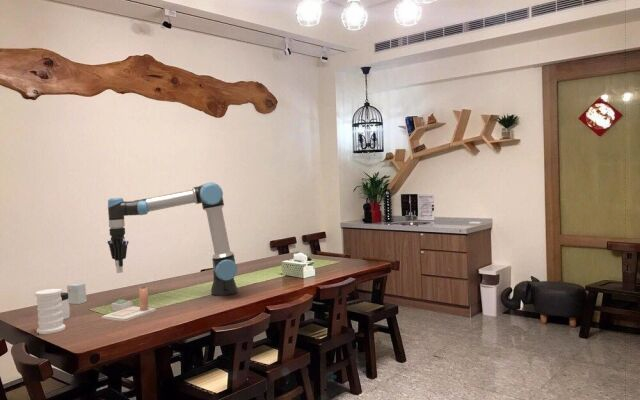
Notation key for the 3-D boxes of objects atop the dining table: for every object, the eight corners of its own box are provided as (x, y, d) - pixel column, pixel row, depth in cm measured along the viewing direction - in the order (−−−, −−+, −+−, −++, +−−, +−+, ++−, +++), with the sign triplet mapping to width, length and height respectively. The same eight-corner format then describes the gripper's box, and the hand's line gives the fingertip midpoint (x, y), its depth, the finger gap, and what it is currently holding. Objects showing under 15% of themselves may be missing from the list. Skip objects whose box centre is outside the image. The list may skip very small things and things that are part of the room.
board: (156, 310, 258) (156, 308, 258) (125, 321, 240) (125, 318, 240) (133, 308, 265) (133, 306, 265) (101, 318, 247) (101, 316, 247)
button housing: (132, 307, 266) (132, 301, 266) (121, 311, 260) (121, 304, 260) (122, 306, 270) (122, 300, 270) (111, 310, 263) (110, 303, 263)
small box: (86, 301, 286) (85, 283, 285) (79, 304, 280) (77, 285, 280) (75, 301, 288) (74, 283, 288) (67, 303, 283) (66, 285, 282)
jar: (66, 314, 258) (64, 291, 257) (73, 317, 252) (72, 293, 252) (47, 319, 251) (46, 295, 250) (54, 321, 246) (53, 297, 245)
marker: (150, 309, 257) (149, 285, 256) (144, 311, 254) (142, 287, 253) (144, 308, 259) (143, 285, 258) (138, 310, 256) (137, 286, 255)
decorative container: (30, 333, 227) (28, 293, 227) (52, 325, 238) (50, 287, 237) (49, 334, 223) (47, 294, 222) (71, 327, 234) (68, 288, 233)
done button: (127, 307, 266) (127, 299, 266) (121, 309, 262) (121, 301, 262) (122, 306, 268) (121, 299, 267) (115, 308, 264) (115, 300, 264)
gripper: (131, 226, 263) (134, 271, 264) (113, 226, 269) (116, 270, 270) (120, 228, 257) (123, 274, 258) (102, 228, 263) (105, 273, 263)
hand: (119, 272), depth 264 cm, fingers closed
